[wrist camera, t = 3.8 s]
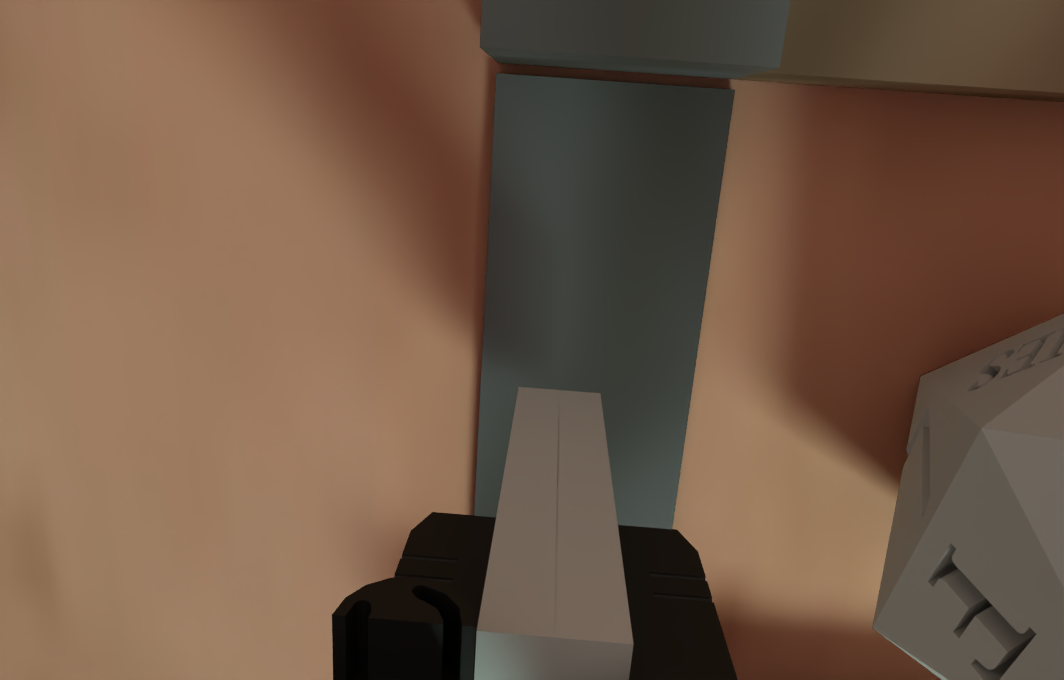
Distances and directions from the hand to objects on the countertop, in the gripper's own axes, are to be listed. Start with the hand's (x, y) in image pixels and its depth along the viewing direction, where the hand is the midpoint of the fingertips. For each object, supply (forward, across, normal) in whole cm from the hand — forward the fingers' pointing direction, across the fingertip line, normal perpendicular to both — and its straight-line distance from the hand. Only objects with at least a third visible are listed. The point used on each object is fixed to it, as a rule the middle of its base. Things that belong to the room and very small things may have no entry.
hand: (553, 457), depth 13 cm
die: (+3, -10, 0) cm, 11 cm away
